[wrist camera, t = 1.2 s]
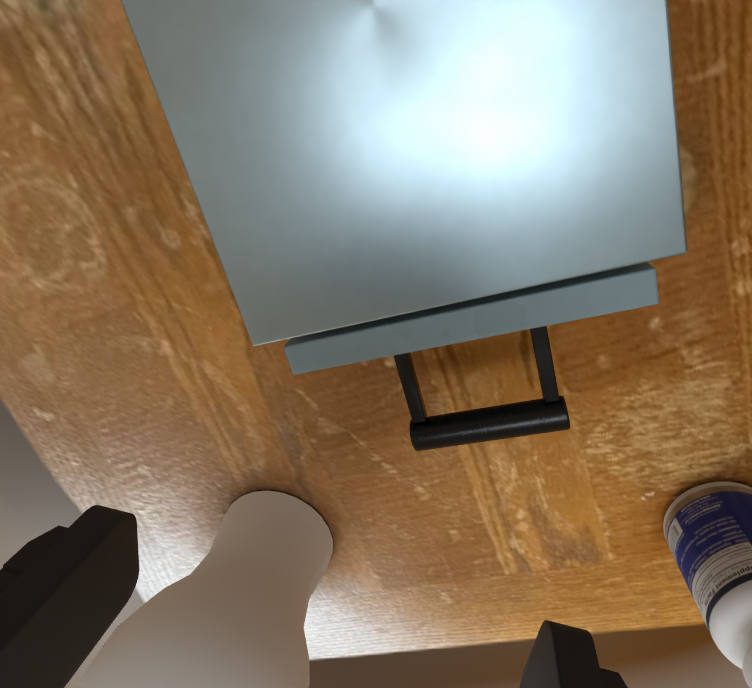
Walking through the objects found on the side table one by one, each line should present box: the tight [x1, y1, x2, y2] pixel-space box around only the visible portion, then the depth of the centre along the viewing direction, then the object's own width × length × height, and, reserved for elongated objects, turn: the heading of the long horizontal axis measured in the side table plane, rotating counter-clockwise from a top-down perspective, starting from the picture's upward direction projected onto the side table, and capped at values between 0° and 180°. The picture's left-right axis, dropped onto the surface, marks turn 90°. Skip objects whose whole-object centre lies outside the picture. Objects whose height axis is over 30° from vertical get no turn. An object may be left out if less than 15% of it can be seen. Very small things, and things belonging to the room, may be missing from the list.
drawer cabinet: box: [121, 0, 687, 346], centre depth 18 cm, size 17×14×10 cm
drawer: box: [284, 262, 659, 451], centre depth 20 cm, size 21×13×8 cm, turn 16°
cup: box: [77, 491, 333, 688], centre depth 28 cm, size 11×11×15 cm
